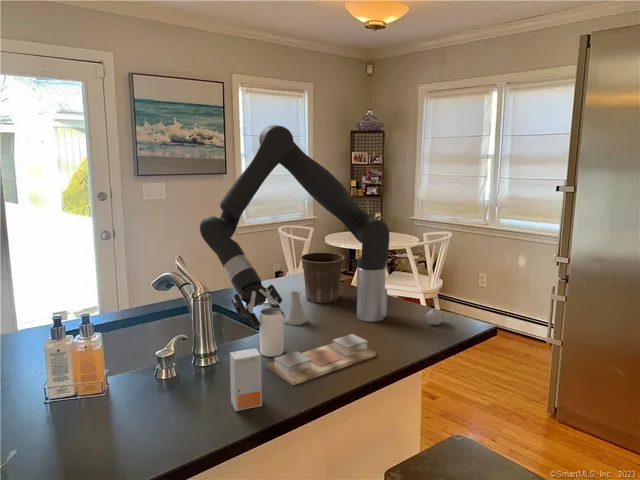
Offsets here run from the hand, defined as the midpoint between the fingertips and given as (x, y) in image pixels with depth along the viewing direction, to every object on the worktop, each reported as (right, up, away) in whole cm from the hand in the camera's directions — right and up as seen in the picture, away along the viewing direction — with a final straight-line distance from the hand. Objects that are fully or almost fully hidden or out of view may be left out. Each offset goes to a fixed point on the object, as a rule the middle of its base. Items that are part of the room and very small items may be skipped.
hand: (270, 322), depth 130 cm
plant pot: (+15, 0, +49) cm, 51 cm away
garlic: (+50, -5, +23) cm, 56 cm away
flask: (+6, -4, +25) cm, 26 cm away
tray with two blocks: (+14, -10, -4) cm, 18 cm away
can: (0, -9, +1) cm, 9 cm away
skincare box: (-2, -14, -26) cm, 29 cm away
